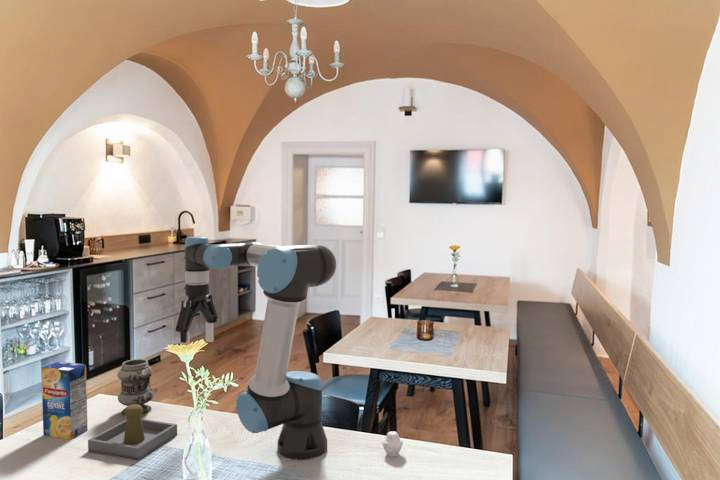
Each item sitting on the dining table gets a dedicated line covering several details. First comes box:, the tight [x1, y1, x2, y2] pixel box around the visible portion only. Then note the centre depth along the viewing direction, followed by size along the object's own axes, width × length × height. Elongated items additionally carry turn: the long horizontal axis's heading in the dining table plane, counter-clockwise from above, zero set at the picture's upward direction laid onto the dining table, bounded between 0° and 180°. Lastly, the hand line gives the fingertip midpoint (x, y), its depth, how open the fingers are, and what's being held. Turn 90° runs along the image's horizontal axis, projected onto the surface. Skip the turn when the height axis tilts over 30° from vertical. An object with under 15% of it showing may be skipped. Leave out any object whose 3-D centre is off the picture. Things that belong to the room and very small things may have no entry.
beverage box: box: [40, 361, 89, 440], centre depth 170 cm, size 7×11×22 cm, turn 74°
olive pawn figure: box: [124, 404, 145, 445], centre depth 164 cm, size 6×6×11 cm
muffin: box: [381, 431, 404, 458], centre depth 158 cm, size 6×6×7 cm
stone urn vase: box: [116, 358, 155, 416], centre depth 188 cm, size 12×12×18 cm
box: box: [87, 418, 178, 461], centre depth 164 cm, size 18×18×4 cm
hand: (198, 346), depth 176 cm, fingers open, 13 cm apart
